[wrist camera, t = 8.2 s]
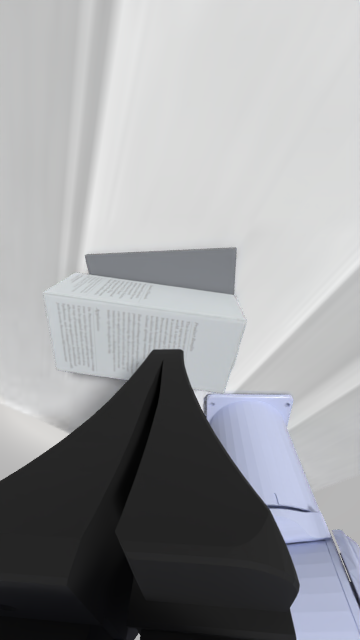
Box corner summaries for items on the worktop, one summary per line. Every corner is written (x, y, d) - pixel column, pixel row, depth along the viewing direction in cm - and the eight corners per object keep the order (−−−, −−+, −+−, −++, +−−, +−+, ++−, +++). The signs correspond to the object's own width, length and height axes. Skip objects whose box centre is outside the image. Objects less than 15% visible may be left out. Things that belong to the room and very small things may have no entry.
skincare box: (81, 337, 19) (219, 359, 19) (53, 371, 16) (224, 397, 16) (75, 268, 16) (237, 293, 16) (39, 289, 13) (249, 321, 13)
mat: (230, 334, 19) (231, 337, 18) (107, 336, 20) (105, 339, 19) (235, 247, 15) (236, 248, 15) (87, 254, 16) (84, 255, 16)
